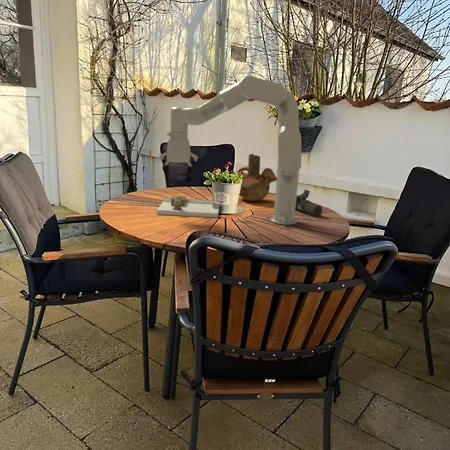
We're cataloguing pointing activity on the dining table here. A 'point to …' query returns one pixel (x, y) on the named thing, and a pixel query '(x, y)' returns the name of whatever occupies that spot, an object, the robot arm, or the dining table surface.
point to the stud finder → (183, 199)
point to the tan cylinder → (177, 203)
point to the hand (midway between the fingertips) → (178, 174)
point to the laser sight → (307, 205)
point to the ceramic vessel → (256, 180)
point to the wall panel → (189, 208)
